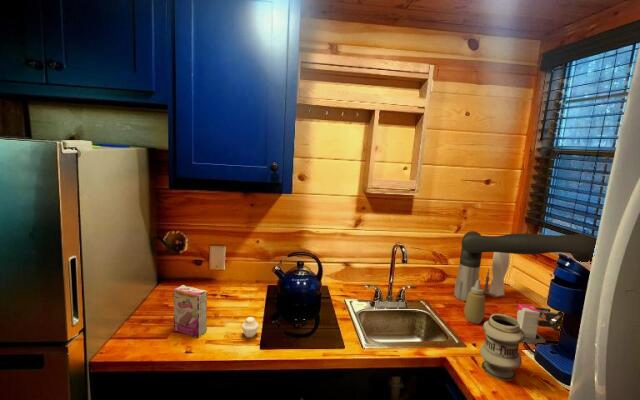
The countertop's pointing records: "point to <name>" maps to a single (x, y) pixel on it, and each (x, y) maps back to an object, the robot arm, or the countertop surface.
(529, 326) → the supplement box
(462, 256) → the robot arm
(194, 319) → the candy bar box
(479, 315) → the squeeze bottle
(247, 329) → the white lidded pot
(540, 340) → the socket collar
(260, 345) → the countertop surface
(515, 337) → the apothecary jar
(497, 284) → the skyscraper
